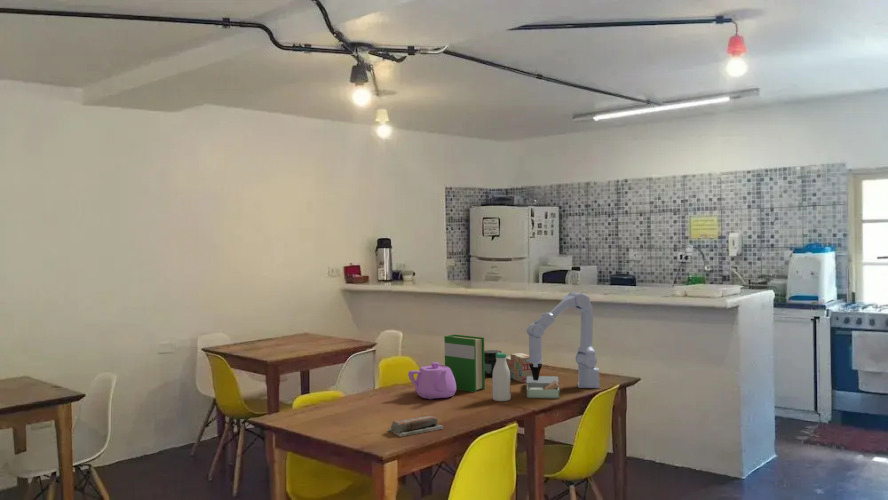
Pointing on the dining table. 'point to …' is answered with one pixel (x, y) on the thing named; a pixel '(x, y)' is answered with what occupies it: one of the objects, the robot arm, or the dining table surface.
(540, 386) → the board
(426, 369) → the teapot
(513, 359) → the printed cardboard box
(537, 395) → the tray
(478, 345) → the hardback book
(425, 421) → the packaged product
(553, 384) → the terracotta tile
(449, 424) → the dining table surface
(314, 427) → the dining table surface
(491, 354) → the supplement container
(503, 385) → the milk bottle
